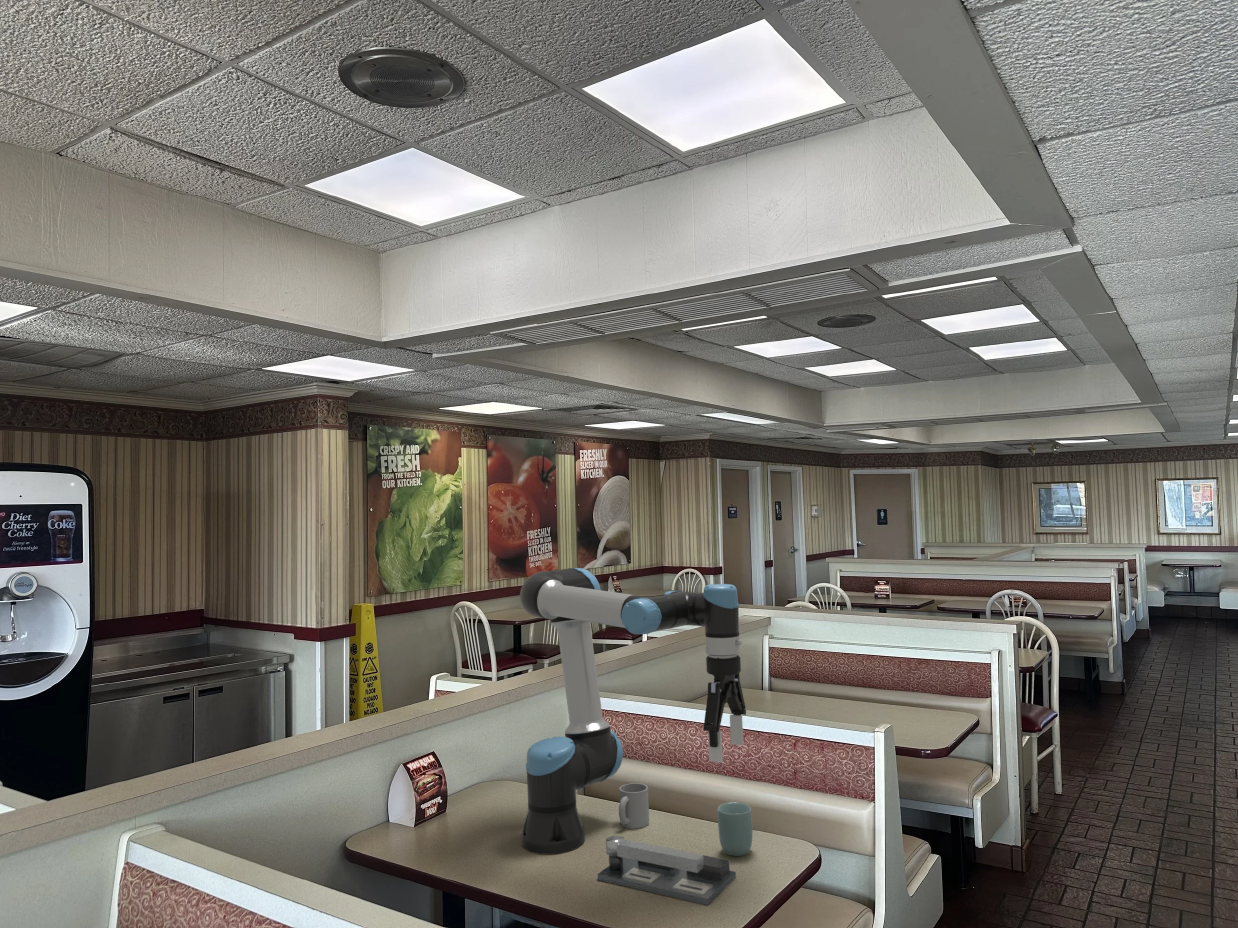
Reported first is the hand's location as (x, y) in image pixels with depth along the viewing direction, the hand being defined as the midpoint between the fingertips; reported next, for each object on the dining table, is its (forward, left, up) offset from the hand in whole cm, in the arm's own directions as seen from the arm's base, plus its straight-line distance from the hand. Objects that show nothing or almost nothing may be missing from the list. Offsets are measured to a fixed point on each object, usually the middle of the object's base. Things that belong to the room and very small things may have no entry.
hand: (726, 752), depth 183 cm
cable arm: (-13, -13, -20) cm, 27 cm away
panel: (-11, -10, -25) cm, 29 cm away
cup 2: (-3, +9, -25) cm, 27 cm away
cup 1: (-33, +13, -25) cm, 43 cm away
